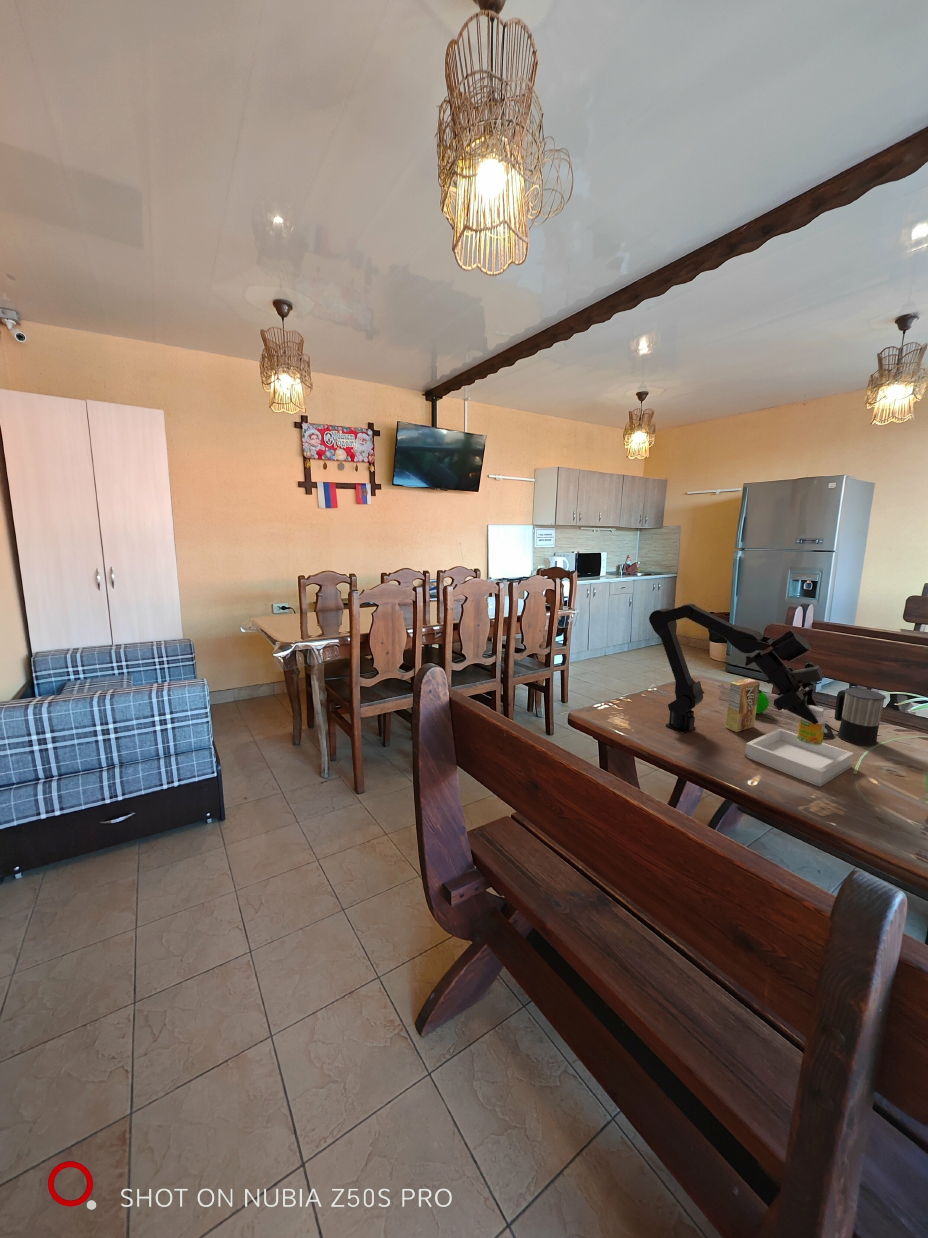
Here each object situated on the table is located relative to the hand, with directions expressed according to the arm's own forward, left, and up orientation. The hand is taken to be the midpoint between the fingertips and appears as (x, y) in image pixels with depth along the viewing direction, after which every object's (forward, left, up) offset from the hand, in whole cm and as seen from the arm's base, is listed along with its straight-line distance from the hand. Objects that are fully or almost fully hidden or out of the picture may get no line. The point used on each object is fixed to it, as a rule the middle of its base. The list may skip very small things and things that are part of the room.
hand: (819, 720), depth 119 cm
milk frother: (-4, +27, -14) cm, 30 cm away
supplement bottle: (-1, 0, -7) cm, 7 cm away
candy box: (-23, +8, -13) cm, 28 cm away
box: (-3, -1, -13) cm, 14 cm away
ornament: (-27, +24, -13) cm, 39 cm away
